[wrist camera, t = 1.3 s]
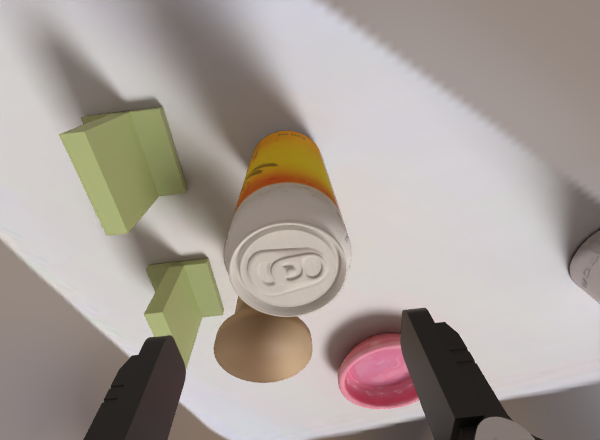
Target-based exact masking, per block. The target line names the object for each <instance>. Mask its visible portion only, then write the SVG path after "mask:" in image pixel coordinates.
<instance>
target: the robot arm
mask: <svg viewBox="0 0 600 440" xmlns="http://www.w3.org/2000/svg"><path fill="white" fill-rule="evenodd" d="M570 276H571V278H572V280H573V281H574V283H575V284H576V285H578V286H579V287H580V288H581V289H582V290H584V291H585V292H586V293H587V294H588V295H590V296H591V297H592V298H593V299H595V300H596V301H597V302H598V303H599V304H600V230H599V231H597V232H596V233H595V234H593V235H592V236H591V237H589V238H588V239H587V240H586V241H585V242H584V243H583V244H582V245H581V246H580V248H579V249H578V250H577V252H576V253H575V255H574V257H573V259H572V261H571V265H570ZM400 344H401V350H402V355H403V358H404V361H405V363H406V366H407V369H408V371H409V374H410V377H411V379H412V382H413V384H414V387H415V390H416V392H417V395H418V398H419V400H420V403H421V406H422V408H423V411H424V413H425V416H426V419H427V421H428V424H429V426H430V429H431V432H432V435H433V437H434V440H542V439H540V438H537V437H535V436H533V435H531V434H530V433H529V432H528V431H526V430H525V429H524V428H523V427H521V426H520V425H518V424H517V423H515V422H514V421H513V420H512V419H511V418H510V417H509V416H508V415H507V413H506V412H505V410H504V409H503V407H502V405H501V404H500V402H499V400H498V399H497V397H496V395H495V394H494V392H493V390H492V389H491V387H490V385H489V384H488V382H487V380H486V379H485V377H484V375H483V374H482V372H481V370H480V369H479V367H478V365H477V364H475V360H474V359H473V357H472V355H471V354H470V352H469V351H468V350H467V347H466V345H465V344H464V342H463V340H462V339H461V337H460V335H459V334H458V333H457V332H456V331H455V330H453V329H452V328H451V327H450V326H449V325H448V324H446V323H445V322H441V323H435V322H434V321H433V319H432V317H431V315H430V313H429V311H428V310H427V309H426V308H418V309H409V310H403V311H402V321H401V336H400ZM185 376H186V368H185V363H184V360H183V358H182V356H181V354H180V351H179V349H178V347H177V344H176V342H175V340H174V338H173V336H171V335H168V336H159V337H150V338H147V339H146V341H145V342H144V344H143V346H142V348H141V351H140V353H139V355H134V356H131V357H130V358H129V360H128V361H127V362H126V363H125V364H124V365H123V366H122V367H121V368H120V369H119V371H118V373H117V375H116V377H115V379H114V381H113V383H112V385H111V389H109V391H108V393H107V395H106V397H105V398H104V403H102V404H101V406H100V408H99V410H98V412H97V414H96V416H95V418H94V420H93V422H92V424H91V426H90V428H89V430H88V432H87V434H86V436H85V438H84V440H167V439H168V436H169V432H170V429H171V426H172V422H173V419H174V415H175V412H176V409H177V405H178V402H179V399H180V395H181V392H182V389H183V385H184V382H185Z"/></svg>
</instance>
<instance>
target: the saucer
mask: <svg viewBox="0 0 600 440" xmlns="http://www.w3.org/2000/svg"><path fill="white" fill-rule="evenodd" d="M400 336H401V334H397V333H385V334H379V335H375V336H372V337H369V338H367V339H365V340H363V341H361V342H360V343H359V344H357V345H356V346H355V347H354V348H353V349H352V350H351V352H350V353H349V354H348V355H347V356H346V358H345V359H344V361H343V362H342V364H341V366H340V368H339V371H338V384H339V388H340V391H341V393H342V394H343V395H344V397H345V398H347V399H348V400H349V401H351V402H352V403H354V404H356V405H359V406H362V407H366V408H372V409H391V408H397V407H402V406H406V405H409V404H412V403H414V402H416V401H419V398H418V395H417V392H416V390H415V387H414V384H413V382H412V379H411V377H410V374H409V371H408V369H407V366H406V363H405V361H404V358H403V355H402V350H401V344H400Z"/></svg>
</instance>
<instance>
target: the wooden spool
mask: <svg viewBox="0 0 600 440" xmlns="http://www.w3.org/2000/svg"><path fill="white" fill-rule="evenodd" d="M214 354H215V358H216V360H217V362H218V363H219V365H220V366H221V367H222V368H223V369H224V370H225V371H227V372H228V373H229V374H231V375H233V376H235V377H237V378H240V379H243V380H246V381H251V382H259V383H267V382H276V381H281V380H284V379H287V378H290V377H292V376H294V375H296V374H297V373H299V372H300V371H301V370H302V369H303V368H305V366H306V365H307V364H308V362H309V361H310V359H311V356H312V338H311V334H310V331H309V329H308V327H307V326H306V324H305V323H304V322H303V321H302V320H301V319H299V318H298V317H297V316H294V317H281V316H274V315H269V314H266V313H263V312H260V311H258V310H256V309H254V308H252V307H251V306H249V305H248V304H246V303H245V302H244V301H243V300H242V299H241V298H240V297H239V296H238V300H237V305H236V310H235V314H234V315H232V316H231V317H229V318H228V319H227V320H226V321H224V322H223V324H222V325H221V326H220V328H219V330H218V332H217V335H216V339H215V344H214Z"/></svg>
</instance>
